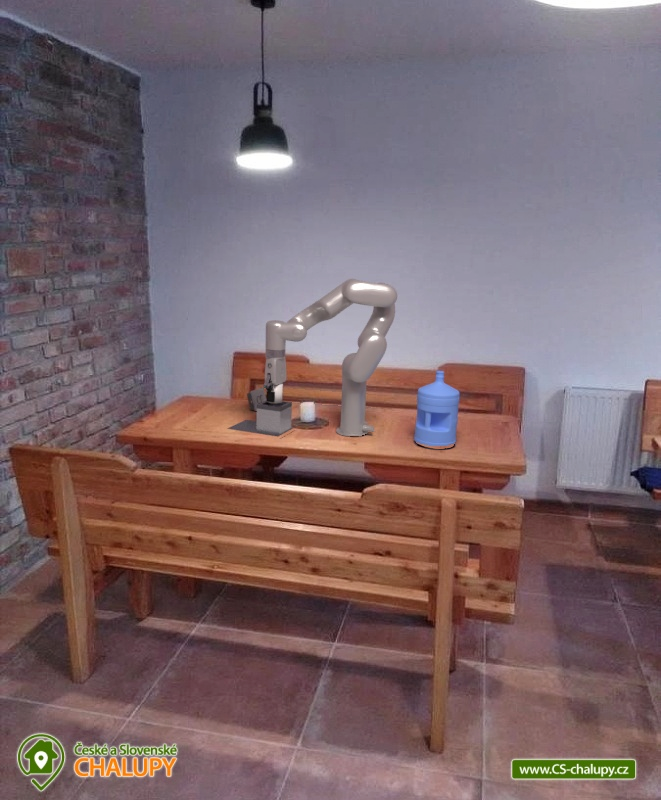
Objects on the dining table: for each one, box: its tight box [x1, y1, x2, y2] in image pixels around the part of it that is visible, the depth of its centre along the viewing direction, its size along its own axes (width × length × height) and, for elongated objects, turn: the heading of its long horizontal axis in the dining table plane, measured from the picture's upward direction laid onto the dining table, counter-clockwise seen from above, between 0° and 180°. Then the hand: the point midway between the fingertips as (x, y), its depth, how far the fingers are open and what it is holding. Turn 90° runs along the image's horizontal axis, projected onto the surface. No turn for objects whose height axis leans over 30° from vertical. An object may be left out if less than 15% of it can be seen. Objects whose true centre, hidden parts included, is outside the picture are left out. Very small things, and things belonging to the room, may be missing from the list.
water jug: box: [413, 370, 461, 446], centre depth 243 cm, size 16×16×28 cm
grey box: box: [226, 399, 296, 439], centre depth 254 cm, size 22×16×12 cm
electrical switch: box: [246, 387, 267, 412], centre depth 287 cm, size 9×5×9 cm, turn 152°
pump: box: [262, 382, 284, 403], centre depth 249 cm, size 8×6×8 cm
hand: (274, 399), depth 249 cm, fingers closed on pump, 6 cm apart
